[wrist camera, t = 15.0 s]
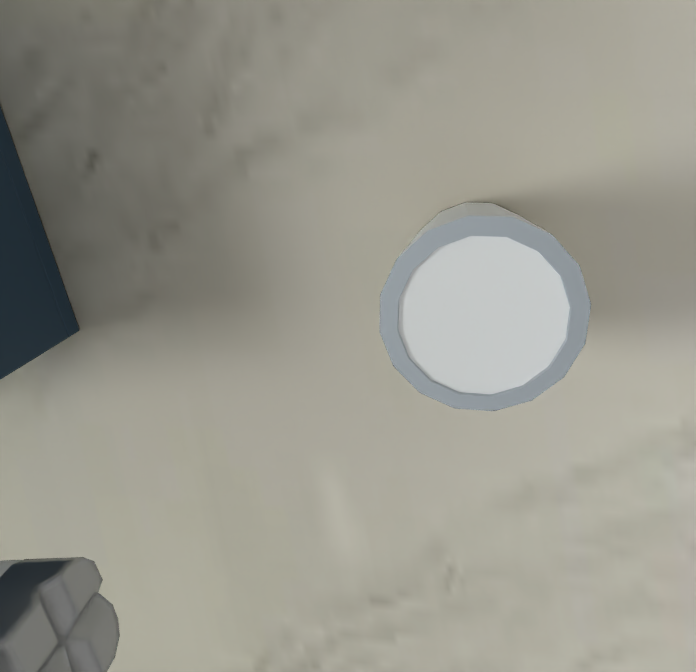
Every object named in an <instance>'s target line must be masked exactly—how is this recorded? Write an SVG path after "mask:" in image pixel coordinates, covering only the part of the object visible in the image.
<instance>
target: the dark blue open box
mask: <svg viewBox="0 0 696 672" xmlns="http://www.w3.org/2000/svg"><path fill="white" fill-rule="evenodd" d="M78 331H79V327H78V325H77V322H76V319H75V316H74V313H73V310H72V308H71V305H70V302H69V299H68V296H67V294H66V291H65V288H64V285H63V282H62V279H61V277H60V274H59V271H58V268H57V265H56V262H55V260H54V257H53V254H52V251H51V248H50V245H49V243H48V240H47V237H46V234H45V231H44V229H43V226H42V223H41V220H40V217H39V214H38V212H37V209H36V206H35V203H34V200H33V197H32V195H31V192H30V189H29V186H28V183H27V180H26V178H25V175H24V172H23V169H22V166H21V163H20V161H19V158H18V155H17V152H16V149H15V147H14V144H13V141H12V138H11V135H10V132H9V130H8V127H7V124H6V121H5V118H4V115H3V113H2V110H1V107H0V379H2V378H4V377H5V376H7V375H8V374H10V373H12V372H13V371H15V370H17V369H18V368H20V367H21V366H23V365H25V364H26V363H28V362H29V361H31V360H33V359H34V358H36V357H38V356H39V355H41V354H42V353H44V352H46V351H47V350H49V349H50V348H52V347H54V346H55V345H57V344H59V343H60V342H62V341H63V340H65V339H67V338H68V337H70V336H71V335H73V334H75V333H76V332H78Z"/></svg>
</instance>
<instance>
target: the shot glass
mask: <svg viewBox="0 0 696 672" xmlns="http://www.w3.org/2000/svg"><path fill="white" fill-rule="evenodd" d="M590 308H591V302H590V299H589V296H588V292H587V289H586V285H585V282H584V279H583V275H582V272H581V269H580V266H579V264H578V263H577V262H576V261H575V260H574V259H573V258H572V257H571V255H570V254H569V253H568V252H567V251H566V250H565V249H564V248H563V246H562V245H561V244H560V243H559V242H558V241H557V240H556V239H555V237H554V236H553V235H552V234H550V233H548V232H547V231H545V230H543V229H541V228H540V227H538V226H536V225H535V224H533V223H531V222H529V221H528V220H526V219H524V218H523V217H521V216H519V215H517V214H515V213H513V212H511V211H509V210H507V209H504V208H502V207H500V206H498V205H496V204H493V203H471V202H465V203H463V204H460V205H457V206H455V207H452V208H449V209H447V210H444V211H441V212H440V213H439V214H437V215H436V216H435V217H434V218H433V219H432V220H431V221H430V222H429V223H428V224H427V225H425V226H424V227H423V228H422V229H421V230H420V231H419V233H418V234H417V235H416V236H415V237H414V239H413V240H412V241H411V242H410V243H409V245H408V246H407V247H406V248H405V249H404V251H403V252H402V253H401V254H400V255H399V257H398V258H397V260H396V262H395V264H394V266H393V268H392V270H391V273H390V275H389V277H388V279H387V281H386V283H385V285H384V288H383V290H382V292H381V294H380V334H381V337H382V339H383V342H384V344H385V346H386V349H387V351H388V354H389V356H390V359H391V361H392V364H393V366H394V367H395V368H396V369H397V370H398V371H399V372H400V373H401V374H402V375H403V376H404V377H405V378H406V379H407V380H408V381H409V382H410V383H411V384H412V385H413V386H414V387H415V388H416V389H417V390H418V391H419V392H420V393H422V394H424V395H426V396H428V397H430V398H433V399H435V400H437V401H439V402H442V403H444V404H446V405H448V406H450V407H453V408H457V409H471V410H485V411H496V410H499V409H503V408H507V407H510V406H514V405H517V404H521V403H524V402H528V401H532V400H533V399H534V398H536V397H537V396H539V395H540V394H541V393H543V392H544V391H546V390H547V389H548V388H550V387H551V386H552V385H554V384H555V383H557V382H558V381H559V380H561V379H562V378H563V377H564V376H565V375H566V373H567V372H568V370H569V368H570V367H571V365H572V364H573V362H574V360H575V359H576V357H577V356H578V354H579V353H580V351H581V349H582V348H583V346H584V345H585V342H586V335H587V328H588V322H589V315H590Z"/></svg>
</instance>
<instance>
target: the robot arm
mask: <svg viewBox="0 0 696 672" xmlns="http://www.w3.org/2000/svg"><path fill="white" fill-rule="evenodd" d="M102 580H103V579H102V577H101V575H100V573H99V571H98V569H97V567H96V564H95V562H94V561H92V560H89V559H86V558H84V557H73V558H45V559H24V560H4V561H0V672H107V670H108V669H109V667H110V665H111V663H112V662H113V660H114V658H115V654H116V650H117V645H118V641H119V636H120V634H119V623H118V617H117V615H116V612H115V609H114V607H113V605H112V604H111V603H110V602H109V601H108V600H106V599H105V598H104V597H103V596H102V595H101V594H99V593H98V592H99V589H100V586H101V583H102Z"/></svg>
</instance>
